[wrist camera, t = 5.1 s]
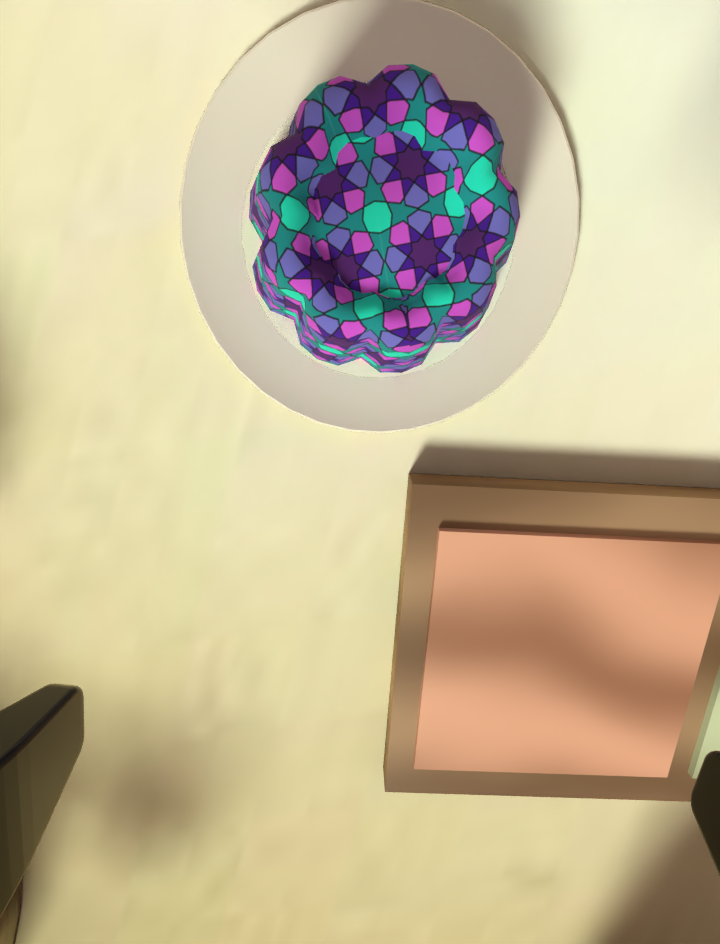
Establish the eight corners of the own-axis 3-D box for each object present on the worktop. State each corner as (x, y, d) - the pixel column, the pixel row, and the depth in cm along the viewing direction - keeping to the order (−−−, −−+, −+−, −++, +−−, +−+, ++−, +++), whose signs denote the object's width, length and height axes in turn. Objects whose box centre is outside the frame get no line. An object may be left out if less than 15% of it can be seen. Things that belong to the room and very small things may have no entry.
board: (910, 784, 23) (947, 816, 22) (383, 767, 22) (385, 798, 21) (1039, 504, 19) (1094, 520, 18) (408, 473, 19) (413, 486, 17)
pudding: (241, 457, 19) (201, 511, 14) (135, 61, 15) (28, -60, 10) (582, 392, 18) (669, 424, 13) (553, -34, 15) (656, -210, 10)
